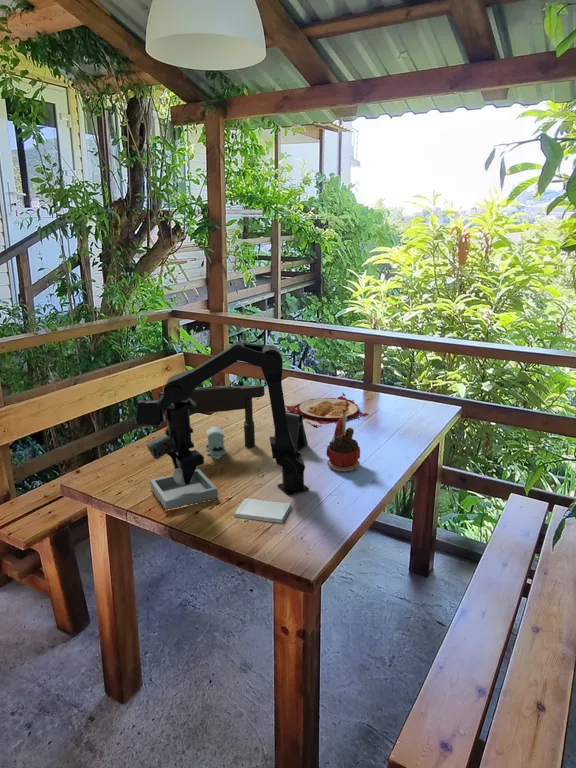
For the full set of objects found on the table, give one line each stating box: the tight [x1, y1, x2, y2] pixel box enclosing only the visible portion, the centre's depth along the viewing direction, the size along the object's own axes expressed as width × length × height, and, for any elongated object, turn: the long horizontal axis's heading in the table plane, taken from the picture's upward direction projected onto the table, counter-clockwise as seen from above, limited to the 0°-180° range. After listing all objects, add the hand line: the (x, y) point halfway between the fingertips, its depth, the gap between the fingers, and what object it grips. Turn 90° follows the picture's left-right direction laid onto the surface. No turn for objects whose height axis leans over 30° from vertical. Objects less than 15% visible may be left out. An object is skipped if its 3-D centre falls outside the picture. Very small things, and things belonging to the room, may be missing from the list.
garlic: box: [172, 467, 193, 485], centre depth 146 cm, size 6×5×5 cm
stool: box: [158, 385, 265, 460], centre depth 175 cm, size 16×21×33 cm
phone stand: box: [286, 410, 309, 452], centre depth 176 cm, size 9×6×12 cm, turn 147°
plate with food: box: [285, 392, 370, 428], centre depth 211 cm, size 25×26×4 cm
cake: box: [325, 409, 361, 472], centre depth 161 cm, size 11×9×18 cm
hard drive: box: [233, 498, 292, 524], centre depth 138 cm, size 2×8×12 cm
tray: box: [149, 468, 219, 510], centre depth 147 cm, size 14×14×3 cm
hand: (183, 479), depth 147 cm, fingers closed on garlic, 6 cm apart
